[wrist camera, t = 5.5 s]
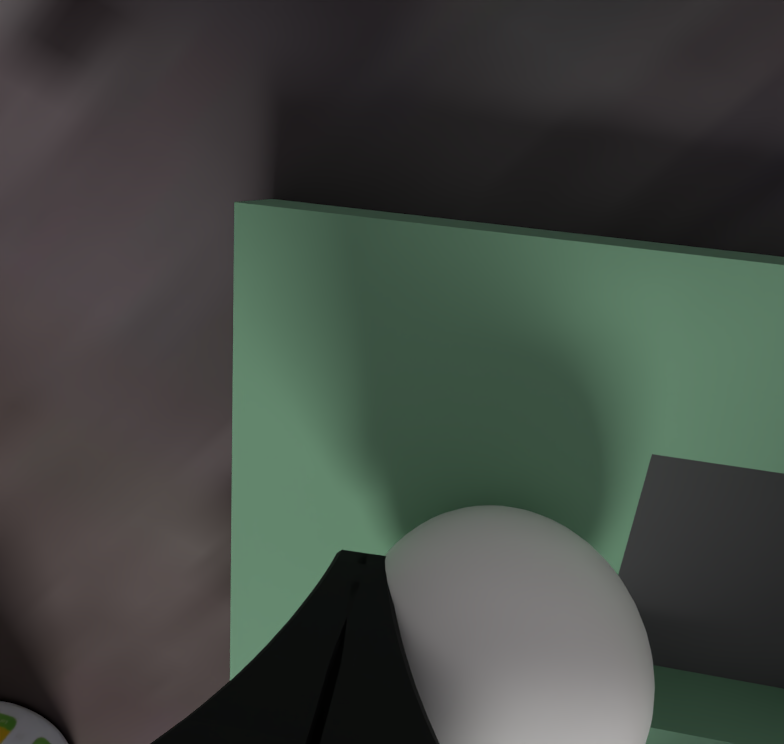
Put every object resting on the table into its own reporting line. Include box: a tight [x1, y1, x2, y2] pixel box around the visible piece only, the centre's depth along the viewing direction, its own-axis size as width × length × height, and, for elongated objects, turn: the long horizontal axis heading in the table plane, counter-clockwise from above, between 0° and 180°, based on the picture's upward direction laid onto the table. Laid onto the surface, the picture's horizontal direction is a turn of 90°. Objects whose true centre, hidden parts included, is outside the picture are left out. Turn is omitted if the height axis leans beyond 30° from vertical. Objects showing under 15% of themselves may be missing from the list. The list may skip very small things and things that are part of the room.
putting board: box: [230, 199, 784, 744], centre depth 15 cm, size 17×22×2 cm
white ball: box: [385, 505, 655, 744], centre depth 12 cm, size 6×6×6 cm
